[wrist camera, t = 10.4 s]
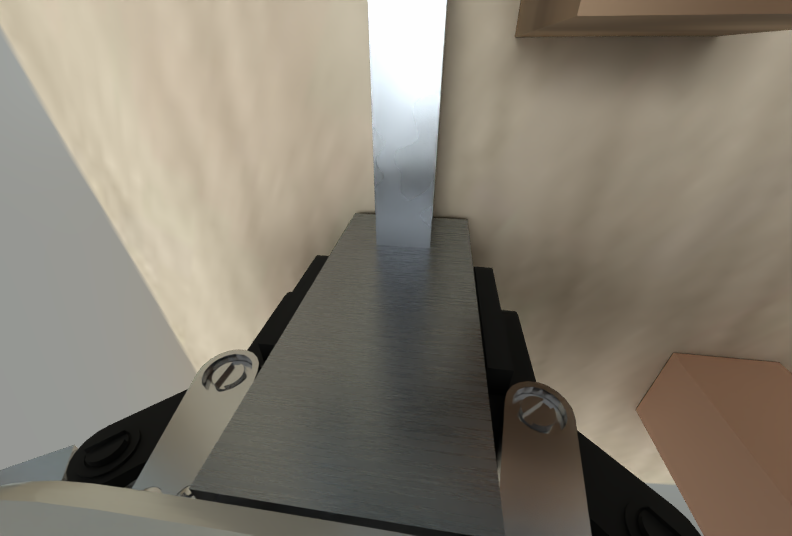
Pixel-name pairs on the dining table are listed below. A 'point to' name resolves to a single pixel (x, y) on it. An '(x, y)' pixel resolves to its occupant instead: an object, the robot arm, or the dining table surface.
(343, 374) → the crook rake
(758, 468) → the salmon l-shaped piece
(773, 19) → the walnut block
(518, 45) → the dining table surface
